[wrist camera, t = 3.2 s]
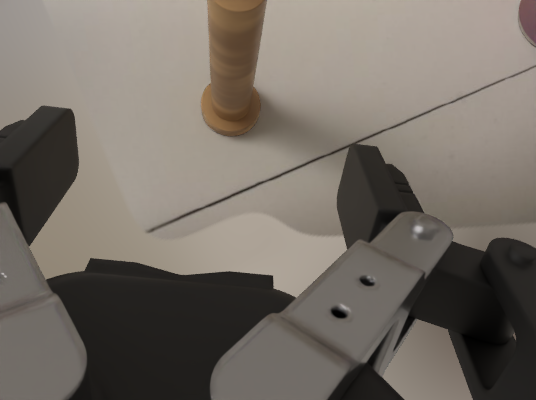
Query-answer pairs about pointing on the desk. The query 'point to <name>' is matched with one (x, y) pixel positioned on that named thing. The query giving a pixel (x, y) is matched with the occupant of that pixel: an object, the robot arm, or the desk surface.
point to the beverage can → (528, 19)
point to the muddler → (233, 65)
